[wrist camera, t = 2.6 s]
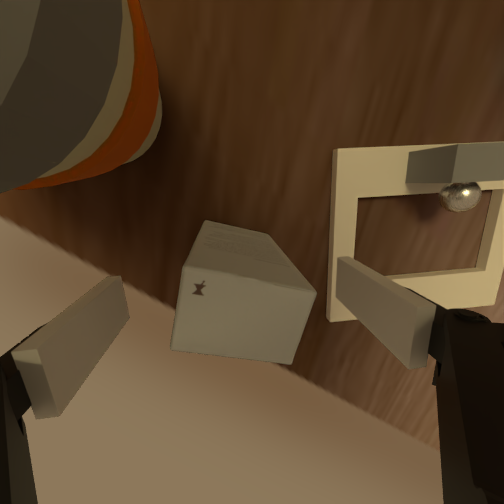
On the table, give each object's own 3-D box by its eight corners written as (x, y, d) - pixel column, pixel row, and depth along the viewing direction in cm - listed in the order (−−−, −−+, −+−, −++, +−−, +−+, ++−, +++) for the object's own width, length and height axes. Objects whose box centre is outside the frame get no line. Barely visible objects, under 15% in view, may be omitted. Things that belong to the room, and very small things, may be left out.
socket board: (332, 150, 21) (369, 139, 15) (522, 142, 22) (615, 129, 17) (326, 316, 25) (352, 352, 20) (484, 300, 27) (548, 329, 21)
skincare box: (195, 264, 22) (163, 352, 11) (204, 218, 21) (179, 261, 10) (259, 276, 23) (293, 369, 12) (271, 233, 22) (321, 289, 11)
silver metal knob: (436, 153, 19) (468, 149, 17) (466, 152, 20) (501, 147, 17) (428, 211, 21) (455, 215, 18) (456, 209, 21) (487, 213, 18)
